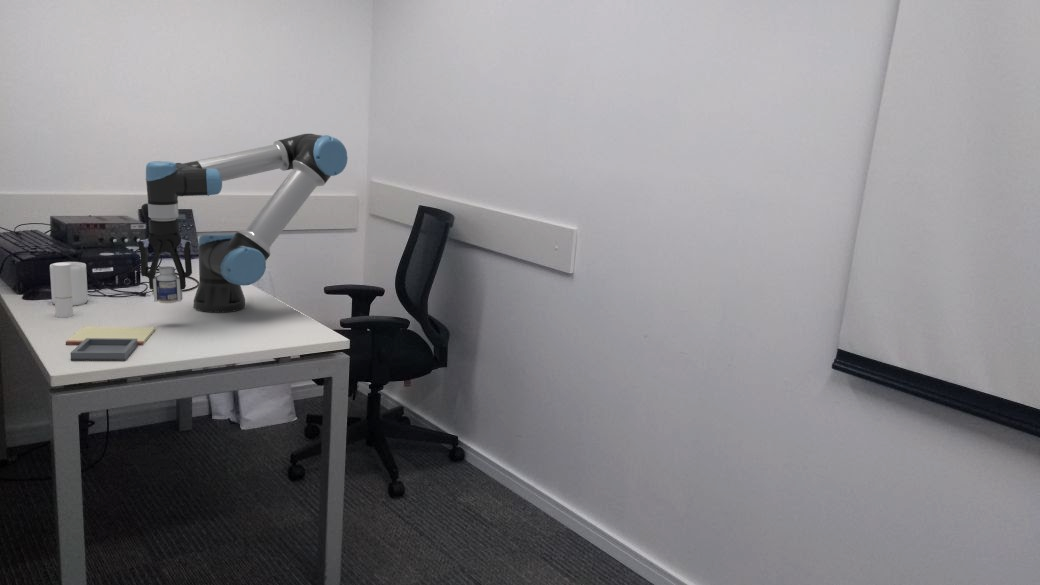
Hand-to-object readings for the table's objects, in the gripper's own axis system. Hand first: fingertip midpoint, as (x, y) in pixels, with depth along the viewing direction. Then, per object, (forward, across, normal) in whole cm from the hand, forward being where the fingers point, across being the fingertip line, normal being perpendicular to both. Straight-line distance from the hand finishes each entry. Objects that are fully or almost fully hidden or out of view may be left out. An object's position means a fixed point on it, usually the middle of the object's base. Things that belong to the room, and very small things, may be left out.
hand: (168, 300), depth 218 cm
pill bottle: (+1, 0, 0) cm, 1 cm away
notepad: (+7, +12, +12) cm, 18 cm away
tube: (+7, +30, -8) cm, 32 cm away
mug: (+7, +33, -24) cm, 42 cm away
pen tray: (+7, +10, +26) cm, 28 cm away
